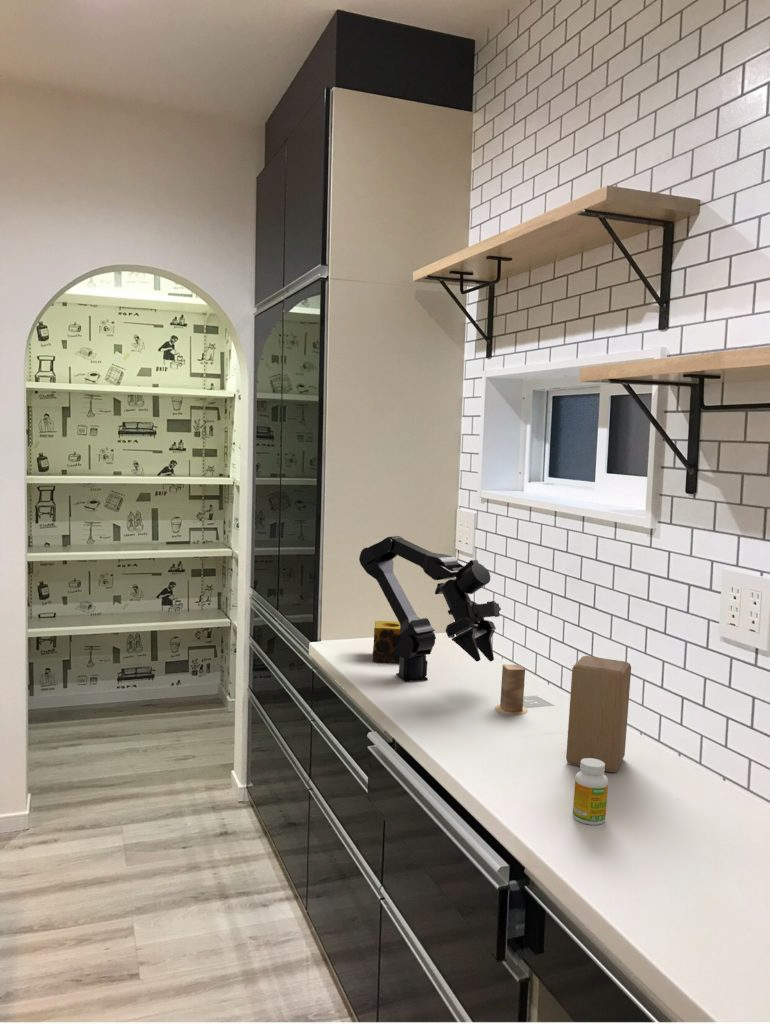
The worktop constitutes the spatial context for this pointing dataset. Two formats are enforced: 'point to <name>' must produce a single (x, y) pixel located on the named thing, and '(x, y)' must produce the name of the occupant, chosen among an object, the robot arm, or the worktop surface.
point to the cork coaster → (510, 712)
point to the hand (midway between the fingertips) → (485, 660)
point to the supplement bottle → (590, 792)
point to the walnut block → (512, 688)
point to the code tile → (535, 702)
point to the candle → (386, 641)
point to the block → (598, 711)
